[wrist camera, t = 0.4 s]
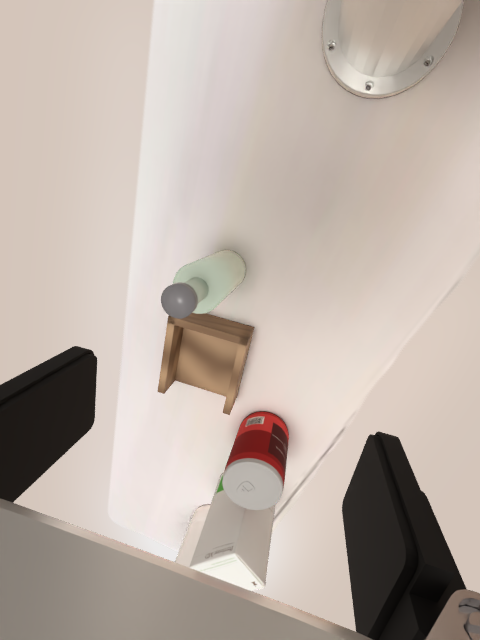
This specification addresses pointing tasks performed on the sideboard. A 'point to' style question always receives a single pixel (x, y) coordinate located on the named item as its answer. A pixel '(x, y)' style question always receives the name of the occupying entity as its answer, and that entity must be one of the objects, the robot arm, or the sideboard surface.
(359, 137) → the sideboard surface
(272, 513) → the skincare box
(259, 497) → the canned food
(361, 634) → the robot arm
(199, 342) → the u rest
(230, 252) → the bottle
